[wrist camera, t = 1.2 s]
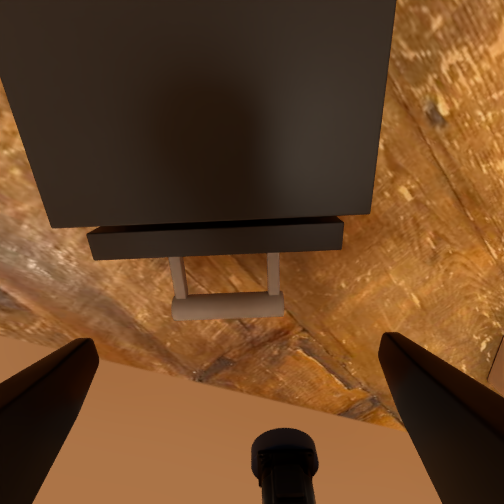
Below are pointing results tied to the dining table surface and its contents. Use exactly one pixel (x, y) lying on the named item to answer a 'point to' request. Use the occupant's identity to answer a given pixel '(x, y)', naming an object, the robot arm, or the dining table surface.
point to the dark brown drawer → (219, 243)
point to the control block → (498, 371)
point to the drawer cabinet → (197, 106)
